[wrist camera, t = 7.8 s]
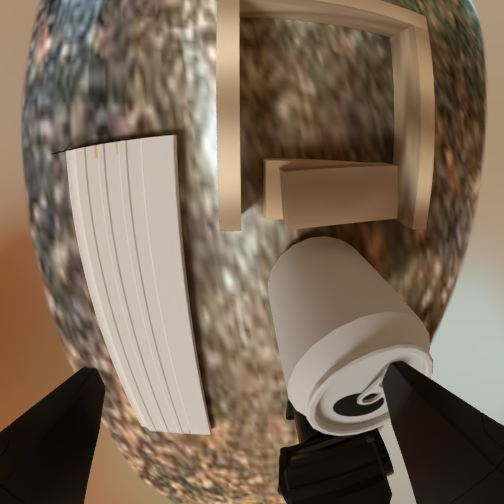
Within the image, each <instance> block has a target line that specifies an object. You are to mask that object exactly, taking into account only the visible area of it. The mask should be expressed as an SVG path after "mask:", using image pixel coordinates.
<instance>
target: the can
mask: <svg viewBox="0 0 504 504" xmlns="http://www.w3.org/2000/svg"><path fill="white" fill-rule="evenodd" d="M268 293H269V301H270V306H271V311H272V316H273V321H274V326H275V331H276V336H277V341H278V347H279V352H280V357H281V362H282V367H283V372H284V377H285V383H286V388H287V393H288V398H289V400H290V402H291V403H292V405H293V406H294V408H295V409H296V411H298V412H300V413H301V414H303V415H305V416H307V420H308V421H309V423H310V424H311V426H312V427H313V428H314V429H316V430H318V431H320V432H322V433H324V434H330V435H337V436H344V435H354V434H359V433H363V432H366V431H370V430H373V429H375V428H377V427H380V426H382V425H384V424H386V423H388V422H390V421H391V420H390V415H389V411H388V407H387V403H386V399H385V395H384V391H383V386H382V381H383V377H384V375H385V373H386V371H387V368H388V366H389V364H390V363H391V362H395V361H400V360H401V361H404V362H406V363H407V364H409V365H410V366H412V367H413V368H415V369H416V370H418V371H419V372H421V373H422V374H424V375H425V376H427V377H428V378H431V375H432V372H433V359H432V357H431V356H430V354H429V350H430V342H429V333H428V331H427V329H426V327H425V326H424V324H423V322H422V321H421V320H420V318H419V317H418V316H417V315H416V314H415V313H414V312H413V310H412V309H411V308H410V307H409V306H408V305H407V304H406V302H405V301H404V300H403V299H402V298H401V297H400V296H399V295H398V294H397V293H396V291H395V290H394V289H393V288H392V287H391V286H390V285H389V284H388V283H387V282H386V281H385V280H384V278H383V277H382V276H381V275H380V274H379V273H378V272H377V271H376V270H375V269H374V268H373V267H372V266H371V265H370V264H369V263H368V262H367V261H366V260H365V259H364V258H363V256H362V255H361V254H360V253H359V252H358V251H357V250H356V249H355V248H354V247H352V246H351V245H349V244H348V243H346V242H344V241H343V240H341V239H337V238H332V237H327V236H322V237H314V238H308V239H306V240H304V241H301V242H299V243H297V244H295V245H293V246H292V247H290V248H289V249H288V250H287V251H286V252H285V253H283V254H282V255H281V256H280V257H279V259H278V260H277V262H276V264H275V265H274V267H273V268H272V270H271V273H270V277H269V281H268Z"/></svg>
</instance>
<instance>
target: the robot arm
mask: <svg viewBox="0 0 504 504" xmlns="http://www.w3.org/2000/svg"><path fill="white" fill-rule="evenodd" d="M382 386H383V391H384V395H385V399H386V403H387V407H388V411H389V415H390V420H391V423H392V427H393V430H394V432H395V436H396V438H397V441H398V444H399V447H400V450H401V453H402V456H403V459H404V463H405V466H406V469H407V472H408V475H409V479H410V482H411V485H412V489H413V492H414V496H415V499H416V503H417V504H504V426H503V425H501V424H500V423H498V422H496V421H495V420H493V419H491V418H490V417H488V416H487V415H485V414H484V413H481V412H480V411H479V410H477V409H476V408H474V407H473V406H471V405H469V404H468V403H467V402H465V401H463V400H462V399H460V398H459V397H457V396H456V395H454V394H452V393H451V392H450V391H448V390H447V389H445V388H443V387H442V386H440V385H439V384H437V383H436V382H434V381H433V380H431V379H430V378H428V377H427V376H425V375H424V374H422V373H421V372H419V371H418V370H416V369H415V368H413V367H412V366H410V365H409V364H407V363H406V362H404V361H401V360H400V361H395V362H391V363H390V364H389V366H388V368H387V371H386V373H385V375H384V377H383V381H382ZM104 397H105V385H104V383H103V380H102V378H101V376H100V374H99V371H98V370H97V369H96V368H94V367H88V366H85V367H83V368H81V369H80V370H79V371H78V372H76V373H75V374H74V375H72V376H71V377H70V378H68V379H67V380H66V381H65V382H63V383H62V384H61V385H59V386H58V387H57V388H56V389H54V390H53V391H52V392H51V393H49V394H48V395H47V396H46V397H44V398H43V399H42V400H40V401H39V402H38V403H36V404H35V405H34V406H33V407H31V408H30V409H29V410H28V411H26V412H25V413H24V414H23V415H21V416H20V417H19V418H17V419H16V420H15V421H14V422H12V423H11V424H10V425H9V426H7V427H6V428H5V429H4V430H2V431H1V432H0V504H84V500H85V494H86V489H87V483H88V478H89V473H90V469H91V464H92V460H93V455H94V451H95V447H96V443H97V438H98V434H99V429H100V423H101V416H102V409H103V403H104ZM286 419H287V420H294V419H295V424H296V429H297V434H298V439H299V444H297V445H293V446H290V447H283V448H281V450H280V456H279V486H278V492H279V494H281V495H283V497H284V499H285V501H286V503H287V504H390V500H391V497H392V492H391V489H390V486H389V483H388V480H387V476H389V475H392V474H393V473H394V471H393V466H392V463H391V460H390V457H389V454H388V451H387V449H386V446H385V444H384V442H383V440H382V437H381V435H380V433H379V431H378V429H377V428H375V429H373V430H370V431H366V432H363V433H359V434H354V435H344V436H337V435H330V434H324V433H322V432H320V431H318V430H316V429H314V428H313V427H312V426H311V424H310V423H309V421H308V420H307V416H305V415H303V414H301V413H300V412H298V411H296V409H295V408H294V406H293V405H292V403H291V402H290V400H289V398H288V401H287V409H286Z"/></svg>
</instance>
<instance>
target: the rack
mask: <svg viewBox="0 0 504 504" xmlns="http://www.w3.org/2000/svg"><path fill="white" fill-rule="evenodd" d="M239 18H274V19H289V20H300V21H309V22H317V23H324V24H331V25H337V26H342V27H347V28H352V29H357V30H362V31H366V32H370V33H375V34H378V35H382V36H386V37H390V43H391V54H392V67H393V85H394V148H393V165H396V166H398V214H397V218H396V219H395V220H397V221H399V222H400V223H402V224H404V225H405V226H407V227H409V228H410V229H412V230H426V225H427V218H428V211H429V204H430V196H431V187H432V176H433V163H434V144H435V96H434V78H433V66H432V56H431V47H430V40H429V33H428V27H427V21H426V16H423V15H421V14H418V13H416V12H413V11H410V10H408V9H405V8H402V7H399V6H396V5H393V4H390V3H387V2H384V1H380V0H218V7H217V65H216V100H217V163H218V196H219V222H220V231H241V179H240V79H239Z"/></svg>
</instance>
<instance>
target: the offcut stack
mask: <svg viewBox="0 0 504 504" xmlns="http://www.w3.org/2000/svg"><path fill="white" fill-rule="evenodd" d="M263 213H264V216H265V219H266V220H277V219H283V220H284V222H285V224H286V226H287V227H288V229H289V230H294V229H302V228H311V227H320V226H329V225H338V224H348V223H357V222H367V221H376V220H386V219H396V218H397V214H398V166H396V165H392V164H388V163H383V162H374V163H363V162H350V161H335V160H315V159H278V158H263Z"/></svg>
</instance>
